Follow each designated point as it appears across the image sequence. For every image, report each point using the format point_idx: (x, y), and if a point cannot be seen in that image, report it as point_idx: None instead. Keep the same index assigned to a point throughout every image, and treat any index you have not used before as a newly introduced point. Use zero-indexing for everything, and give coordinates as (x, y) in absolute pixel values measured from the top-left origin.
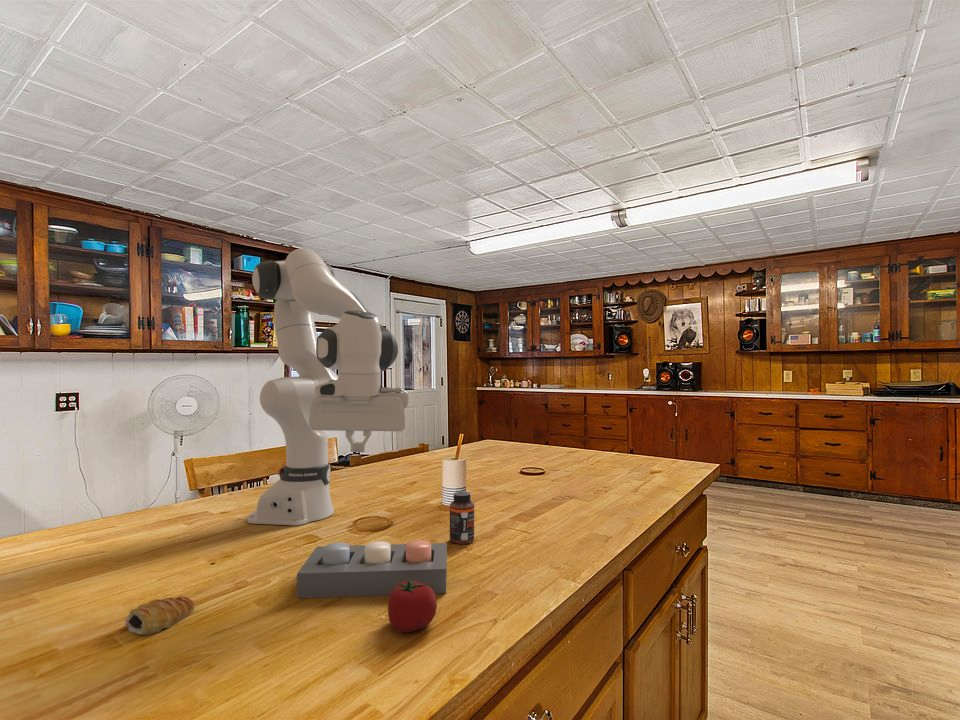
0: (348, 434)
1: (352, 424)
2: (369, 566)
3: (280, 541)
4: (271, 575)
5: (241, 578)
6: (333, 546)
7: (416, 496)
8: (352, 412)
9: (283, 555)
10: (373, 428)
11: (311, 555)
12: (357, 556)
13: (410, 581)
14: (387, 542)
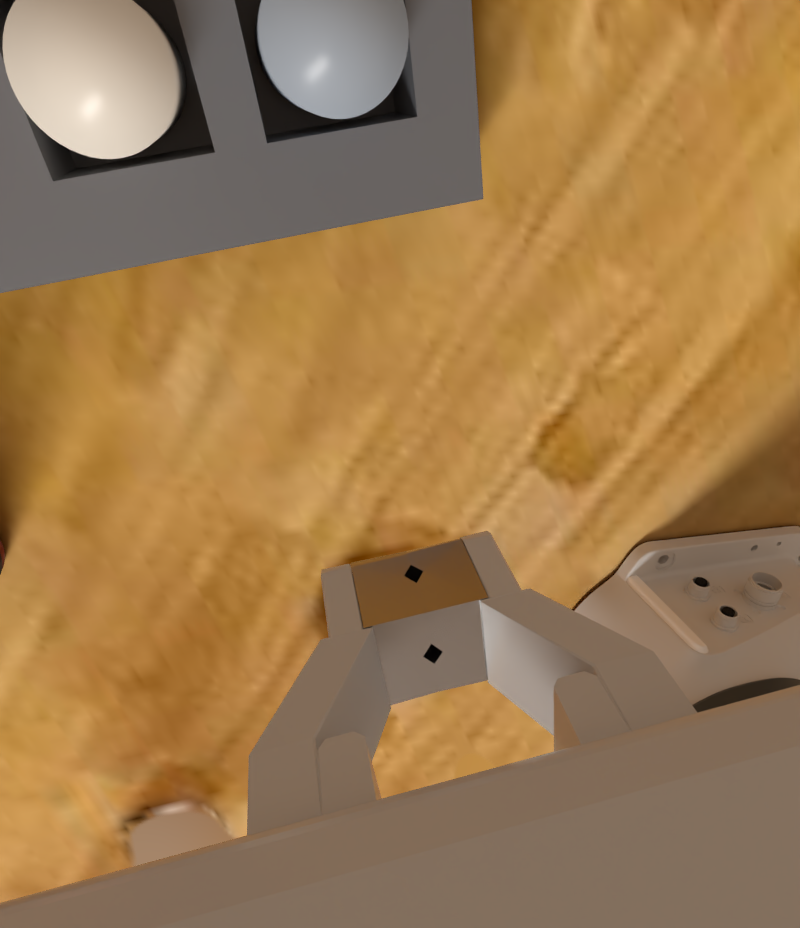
0: (620, 683)
1: (651, 871)
2: None
3: (664, 412)
4: (610, 90)
5: (717, 48)
6: (356, 44)
7: None
8: None
9: (620, 293)
10: (118, 919)
11: (469, 70)
12: (222, 72)
13: None
14: (61, 143)
